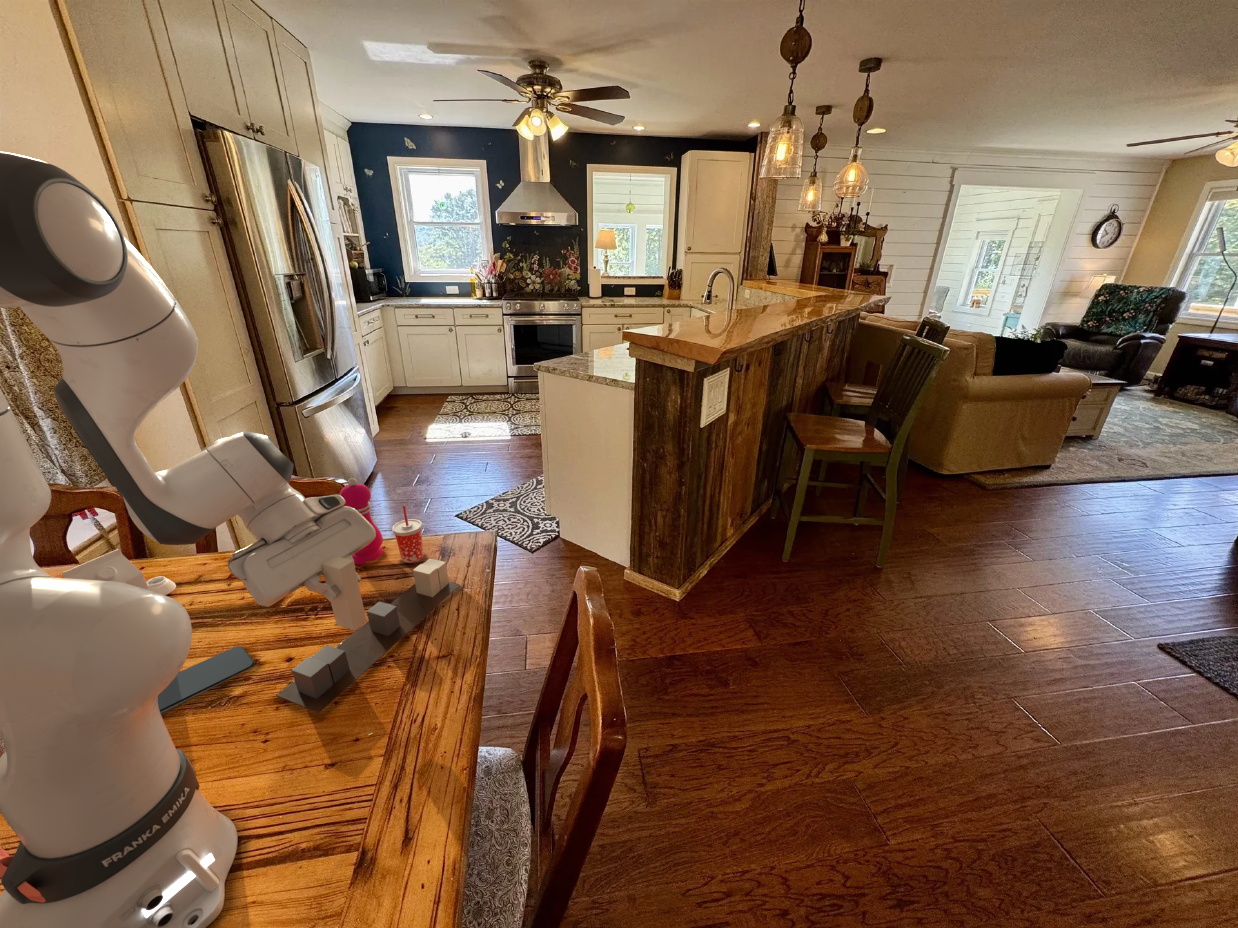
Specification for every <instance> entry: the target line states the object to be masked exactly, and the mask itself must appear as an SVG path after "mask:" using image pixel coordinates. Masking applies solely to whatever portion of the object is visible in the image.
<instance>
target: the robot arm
mask: <svg viewBox="0 0 1238 928" xmlns="http://www.w3.org/2000/svg"><path fill="white" fill-rule="evenodd" d="M7 308H20V310H21V311H22V312H23V313H24V314H25V316H26V317H27V318H28V319H29V320H30V321H31V323H32V324H34V326H36V328H37V329H38V330H39V331H40V332H41V333H42V334H43V336H45V337H46V338H47V339H48V340H49V341H50V342H51V343H52V345H53V346H54V347H55V349H56V350H57V352H58V354H59V356H60V359H61V362H62V378H60V379H59V381H58V382H57V383H56V384H55V386H54V387H53V393H54V396H55V400H56V402H57V405H58V407H59V409H60V410H61V413H62V414H63V415H64V416H65V418H66V420H67V421H68V422H69V424H70V425H71V427H72V429H73V430H74V432H75V434H76V436H77V437H78V438H79V439H78V440H79V441H80V442H81V443H82V445H83V446H84V447H85V449H86V450H87V451H88V453H89V454H90V456H91V457H92V458H93V460H94V461H95V462H96V464H97V466H99V468H100V470H101V471H102V472H103V473H104V475H105V476H106V478H107V479H108V480H109V482H110V483H111V485H112V486H113V487H115V489H116V490H117V491H118V493H119V495H120V496H121V497H122V500H123V502H124V505H125V507H126V510H127V513H128V516H129V517H130V519H131V520H132V522H133V524H134V525H135V526H136V527H137V528H138V530H139V531H140V532H141V533H143V535H145V536H146V537H147V538H148V539H150V540H152V541H154V542H156V543H159V545H165V546H187V545H188V546H189V545H195V544H196V543H198V542H200V540H202V539H203V538H204V537H206V536H207V535H209V534H211V533H212V532H213V531H215V530H216V529H217V528H218V527H219V526H222V524H224V523H226V522H228V521H229V520H231V519H233V518H234V517H236V516H238V517H239V518H240V519H241V521H242V522H243V525H244V527H245V529H246V530H248V532H249V533H250V535H252V536H253V538H255V540H256V541H255V542H252V543H251V544H248V546H246V547H244V548H242V549H239V550H236V551H235V552H233V553H232V554H231V557H230V558H229V559H228V561H227V569H228V571H229V572H231V574H232V575H233V576H234V577H235V578H236V579H238V580H239V581H241V582H242V584H243V586H244V587H245V589H246V591H247V592H248V593H249V595H250V596H251V598H252V599H253V600H254V601H255V603H256V604H258V606H263V607H266V608H267V607H269V608H270V607H271V606H273V605H274V604H276V603H278V602H280V601H281V600H282V599H284V598H286V597H288V596H289V595H291V594H292V593H294V592H295V591H297V590H298V589H300V588H302V587H303V586H304V587H305V588H306V589H307V590H308V591H309V592H313V593H317V594H320V595H323V596H324V597H325V598H326V599H327V601H328V602H331V601H333V600H334V599H335V598H337V597H338V596H339V595H340V594H341V591H340V589H338V587H337V586H336V585H335V584H334V585H333V586H331V587H330V586H328V585H326V583H323V582H320V581H322V578H321V577H320V576H321V575H322V574H323V569H324V567H323V566H322V565H321V564H322V563H323V562H325V561H327V560H328V559H330V558H331V557H333V556H337V557H341V558H345V559H348V560H352V561H353V562H354V559H353V558H352V555H353V554H355V553H356V552H358V551H359V550H361V549H363V548H364V547H366V546H367V545H369V544H370V543H371V542H372V541H373V540H374V538H375V537H376V532H375V529H374V527H373V526H372V525H371V524H370V523H369V522H368V521H367V520H366V519H365V518H364V517H363V516H362V515H361V514H360V513H359V512H358V511H357V510H355V509H354V508H352V507H348V506H344V504H345V500H344V498H343V497H342V496H341V495H340V494H330V495H323V496H315V497H306V498H305V496H304V495H303V494H302V493H301V492H300V491H298V490H296V489H295V488H293V487H292V486H291V485H290V484H289V483H291V479H292V477H293V476H292V475H293V470H294V467H295V466H294V463H293V462H292V461H291V460H290V459H289V458H288V457H287V456H286V455H284V453H283V452H281V451H280V450H279V449H278V447H276V445H275V444H274V443H273V440H272V439H271V438H270V436H269V435H266V434H262V433H257V432H252V431H242V432H239V433H236V434H232V435H231V436H227V437H223V438H219V439H217V440H214V441H213V442H211V443H209V444H207V446H204V448H203V449H202V450H201V451H200V452H199V453H197V454H195V455H193V456H191V457H189V458H186V459H185V460H183V461H180V462H179V463H177V464H174V465H173V466H171V467H169V468H167V469H164V470H160V471H154V469H153V468H152V466H151V464H150V463H149V461H148V460H147V457H145V455H144V453H143V452H142V450H141V449H140V447H139V446H138V443H137V441H136V435H137V432H138V430H139V428H140V427H141V425H142V423H143V422H144V421H145V419H146V418H147V417H148V416H149V415H150V414H151V412H152V411H154V409H155V408H156V407H157V406H159V404H160V403H162V402H163V401H164V400H165V399H167V398H168V397H169V396H170V395H171V394H172V393H174V392H175V391H176V390H177V389H178V388H180V387H181V386H182V385H183V384H184V382H185V381H186V380H187V378H188V377H189V376H190V374H191V373H192V371H193V369H194V367H195V365H196V362H197V359H198V354H199V339H198V336H197V333H196V331H195V328H194V327H193V325H192V323H191V321H190V319H189V317H188V316H187V314H186V312H185V311H184V309H183V308H182V306H181V305H180V303H179V302H178V300H177V298H175V296H174V294H173V293H172V292H171V290H170V289H169V288H168V286H167V285H166V284H165V282H164V281H163V279H162V278H161V277H160V275H158V273H157V271H155V269H154V268H153V267H152V265H151V264H150V263H149V262H148V261H147V260H146V259H145V258H144V257H143V255H142V254H141V253H140V252H139V250H137V249H136V247H134V245H133V244H132V243H131V242H130V241H129V240H128V239H127V237H125V236H124V233H123V231H122V229H121V226H120V225H119V222H118V220H117V218H116V217H115V216H114V214H113V213H112V211H111V210H110V208H109V207H108V206H107V205H106V204H105V202H104V201H103V200H102V199H101V198H100V197H99V196H98V195H96V193H95V192H94V191H92V190H91V189H90V188H89V187H88V186H86V185H85V184H84V183H82V182H81V181H80V180H78V179H77V178H76V177H75V176H73V175H71V173H69V172H67V171H66V170H64V169H62V168H60V167H58V166H57V165H54V164H52V163H49V162H45V161H43V160H40V159H36V158H32V157H29V156H25V155H21V154H16V153H11V152H7V151H0V309H7ZM42 471H43V470H41V468H40V465H39V463H38V461H37V458H36V457H35V455H34V453H33V451H32V449H31V447H30V445H29V443H28V440H27V438H26V437H25V434H24V432H23V430H22V428H21V426H20V424H19V422H18V421H17V418H16V416H15V414H14V412H13V410H12V408H11V406H10V404H9V402H8V400H7V398H6V396H5V394H4V393H3V390H2V389H1V388H0V738H1V739H2V742H3V745H4V748H5V751H3V753H2V755H1V756H0V814H1V816H2V817H3V819H4V820H5V821H6V822H7V824H8V825H9V827H10V828H11V830H12V831H13V832H14V834H15V835H16V837H17V838H18V839H19V843H18V846H17V849H16V851H15V853H14V855H10V853H9V852H8V851H7V850H5V849H4V848H0V883H1V885H2V886H3V888H4V890H3V892H2V893H1V895H0V928H207V927H209V926H210V924H212V923H213V922H214V921H215V920H216V919H217V918H218V917H219V915H220V914H221V913H222V910H223V908H224V904H225V892H226V890H225V889H226V888H225V883H226V880H227V877H228V874H229V872H230V870H231V867H232V865H233V863H234V859H235V858H236V854H237V850H238V843H239V836H238V835H239V834H238V830H237V828H236V825H235V823H234V822H233V821H232V819H230V818H229V817H228V816H226V815H225V814H223V813H221V812H220V811H218V810H217V809H216V808H214V807H213V805H211V804H210V802H209V801H208V800H207V799H206V798H205V796H204V795H203V794H202V792H201V791H200V790H199V789H200V783H199V781H198V779H197V773H196V770H195V768H194V766H193V764H192V763H191V761H190V759H189V758H188V756H187V755H186V754H185V753H184V751H183V750H182V749H178V748H176V746H175V744H174V742H173V739H172V737H171V734H170V733H169V731H168V727H167V726H166V724H165V721H164V719H163V716H162V714H160V710H159V707H158V695H159V694H160V693H161V692H162V691H163V690H164V689H165V688H166V687H167V686H168V685H169V684H170V683H171V682H172V681H173V680H174V678H175V677H176V676H177V674H178V673H179V672H180V671H182V668H183V667H184V665H185V663H186V660H187V658H188V656H189V653H190V651H191V646H192V642H193V627H192V620H191V617H190V615H189V613H188V611H187V610H186V608H185V607H184V605H183V604H182V603H180V602H179V601H177V600H176V599H175V598H172V597H171V596H168V595H162V594H159V593H156V592H153V591H150V590H147V589H144V588H140V587H137V586H133V585H130V584H126V583H121V582H114V581H98V580H83V579H67V578H65V577H56V576H52V575H50V574H49V573H47V572H46V571H45V570H44V569H42V568H41V567H40V566H39V565H38V564H37V563H36V561H35V558H34V557H33V553H32V548H31V534H30V533H31V528H33V526H34V525H35V524H37V522H39V521H40V520H41V519H42V518H43V516H44V515H45V514H46V513H47V511H48V510H49V508H50V506H51V502H52V491H51V488H50V485H49V483H48V482H47V480H46V477H45V476H44V474H43V472H42ZM354 566H355V567H356V564H354ZM356 575H357V580H358V584H359V583H360V582H361V581H362V577H361V576H360V574H358V572H356ZM194 921H195V922H194ZM193 922H194V923H193ZM192 923H193V924H192Z"/></svg>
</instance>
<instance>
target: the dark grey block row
mask: <svg viewBox="0 0 1238 928" xmlns="http://www.w3.org/2000/svg"><path fill="white" fill-rule="evenodd" d="M366 614H367V618H368V621H369V624H370V628H371V631H373V632H377V633H380V634H383V635H386V636H389V635H390V634H391V633H393V632H394V631H395V630H396V629H397V628H398V627H399V626H400V622H399V617H398V611H397V607H396V606H393V605H390V603H386V602H383V601H378V602H376V603H375V604H374V605H373V606H371V607H370V608H369V609H367V610H366ZM349 670H350V668H349V664H348V660H347V656H346V653H345V651H343V650H340V649H337V648H336V646H335V647H334V646H331V645H328V644H326V645H324V646H323V647H321V648H320V650H318V651H317V652H315V653H314V654H313V655H312V656H307V657H306V658H305V659H303V660H302V661H301V662H299V663H298V664H297V665H296V666H294V667H293V668H292V669H291V670H290V671H291V674H292V677H293V681H294V680H295V683H296V686H297V690H298V692H301V693H304V694H306V695H309V696H311V697H314V698H316V699H317V698H319V697H320V696H321V695H322V694H323V693H324V692H325V691H327V690H328V689H329V688H330V687H331V686H332V685H333V683H336V682H337V681H338V680H339V679H340V678H341V677H342V676H344V675H345V674H346V673H347V672H348V671H349Z"/></svg>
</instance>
